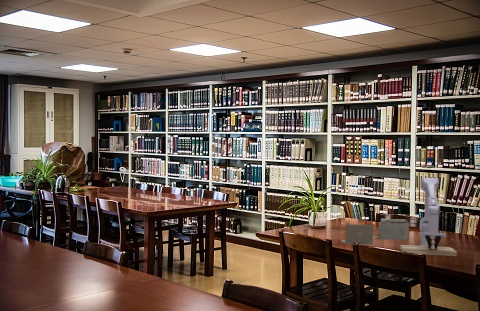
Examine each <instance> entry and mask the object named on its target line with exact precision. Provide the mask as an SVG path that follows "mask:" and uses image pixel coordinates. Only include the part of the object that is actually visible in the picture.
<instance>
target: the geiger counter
mask: <svg viewBox="0 0 480 311" xmlns="http://www.w3.org/2000/svg"><path fill="white" fill-rule="evenodd" d="M378 225H379V226H378V227H376V228H373V232H375V230H377V229H378V233H373V236H376V237H378V239H379V240H399V241H400V240H402V241H403V240H405V241H406V240H407V241H408V240H409V239H410V238H409V236H410V235H409V232H410V223H409V222H408V220H407V219H404V218H401V219H399V218H395V219H393V218H380V222H379V224H378Z"/></svg>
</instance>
